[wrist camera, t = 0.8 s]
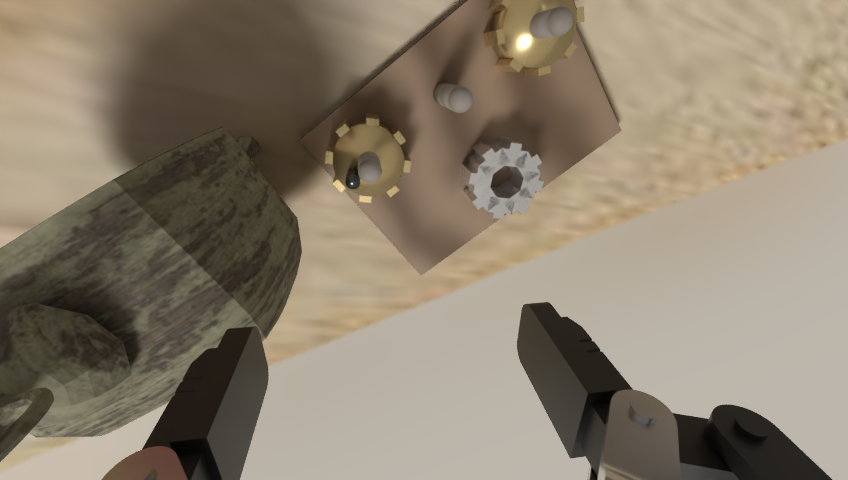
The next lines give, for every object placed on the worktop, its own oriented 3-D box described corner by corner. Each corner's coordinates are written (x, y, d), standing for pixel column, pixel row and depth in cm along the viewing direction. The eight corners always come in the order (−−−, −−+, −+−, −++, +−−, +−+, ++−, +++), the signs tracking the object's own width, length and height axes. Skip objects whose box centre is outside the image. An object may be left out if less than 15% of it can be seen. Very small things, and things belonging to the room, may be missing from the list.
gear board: (532, -55, 27) (589, -94, 20) (614, 128, 33) (677, 144, 27) (301, 138, 30) (284, 159, 23) (419, 270, 36) (432, 315, 30)
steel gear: (506, 120, 31) (520, 126, 28) (540, 178, 33) (556, 187, 31) (446, 167, 31) (454, 176, 29) (484, 219, 34) (494, 232, 31)
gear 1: (373, 96, 28) (375, 101, 24) (421, 159, 31) (431, 176, 26) (311, 147, 29) (302, 161, 25) (363, 205, 32) (364, 227, 27)
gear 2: (516, -41, 26) (533, -53, 23) (578, 14, 28) (601, 9, 25) (467, 44, 28) (478, 42, 25) (529, 90, 30) (546, 93, 27)
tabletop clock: (255, 111, 28) (-130, 283, 6) (325, 206, 32) (250, 522, 10) (104, 206, 30) (-689, 644, 7) (189, 286, 34) (-150, 730, 11)
